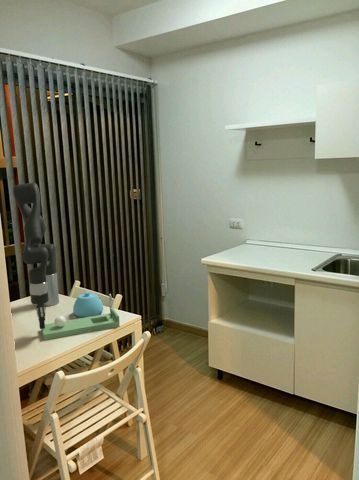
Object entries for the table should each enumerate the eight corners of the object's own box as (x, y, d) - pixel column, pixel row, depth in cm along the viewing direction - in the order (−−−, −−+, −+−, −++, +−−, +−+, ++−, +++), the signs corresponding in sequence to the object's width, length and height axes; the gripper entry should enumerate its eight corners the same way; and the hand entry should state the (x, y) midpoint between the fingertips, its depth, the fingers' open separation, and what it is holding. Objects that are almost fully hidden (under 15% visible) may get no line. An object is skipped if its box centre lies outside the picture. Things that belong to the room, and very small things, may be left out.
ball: (54, 325, 188) (53, 315, 187) (65, 323, 190) (64, 313, 189) (55, 329, 184) (54, 319, 183) (67, 327, 186) (66, 317, 185)
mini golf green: (41, 330, 190) (40, 319, 189) (113, 317, 203) (112, 308, 202) (44, 340, 179) (43, 329, 178) (119, 326, 192) (119, 316, 191)
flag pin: (110, 317, 196) (108, 293, 194) (111, 317, 197) (110, 293, 194) (112, 320, 193) (110, 296, 191) (113, 319, 194) (112, 295, 191)
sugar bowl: (68, 313, 210) (66, 292, 208) (94, 306, 220) (92, 285, 217) (82, 321, 199) (80, 299, 196) (109, 313, 208) (107, 292, 206)
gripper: (29, 288, 185) (32, 324, 188) (31, 297, 173) (34, 335, 176) (46, 286, 188) (49, 321, 191) (49, 294, 176) (52, 332, 179)
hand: (42, 328), depth 184 cm, fingers closed
